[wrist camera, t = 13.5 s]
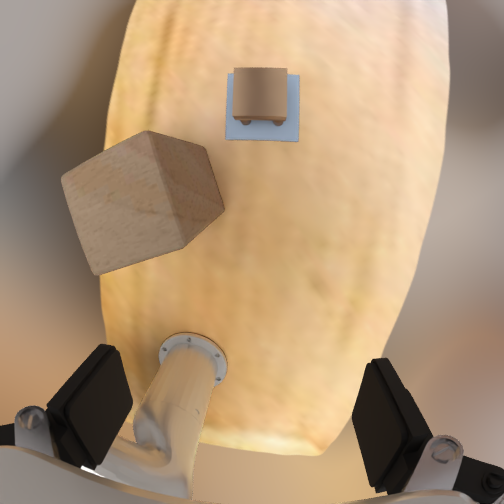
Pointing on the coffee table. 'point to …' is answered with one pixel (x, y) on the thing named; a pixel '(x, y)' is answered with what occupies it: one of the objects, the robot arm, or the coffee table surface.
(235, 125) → the mat
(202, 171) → the wooden block
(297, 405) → the coffee table surface
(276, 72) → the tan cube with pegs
